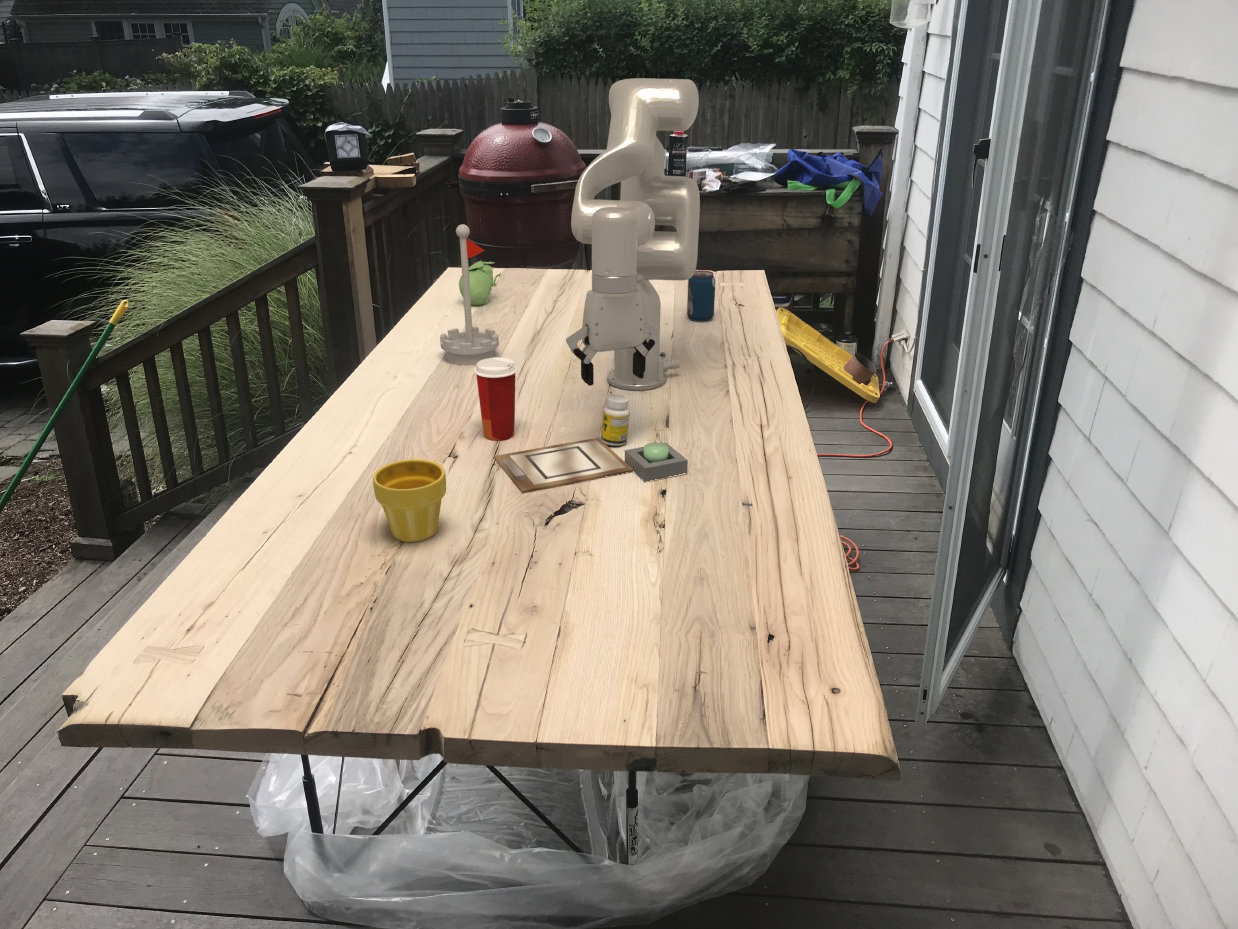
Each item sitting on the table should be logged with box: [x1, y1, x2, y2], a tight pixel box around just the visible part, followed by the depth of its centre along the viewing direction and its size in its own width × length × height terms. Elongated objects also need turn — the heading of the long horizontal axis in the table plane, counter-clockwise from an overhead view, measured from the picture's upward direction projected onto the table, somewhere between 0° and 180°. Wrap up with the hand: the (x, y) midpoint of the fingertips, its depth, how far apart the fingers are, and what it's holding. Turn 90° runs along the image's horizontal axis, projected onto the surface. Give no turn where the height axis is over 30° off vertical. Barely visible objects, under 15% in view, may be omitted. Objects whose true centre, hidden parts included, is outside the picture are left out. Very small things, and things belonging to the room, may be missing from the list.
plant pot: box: [372, 458, 447, 543], centre depth 141 cm, size 10×10×10 cm
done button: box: [643, 442, 668, 463], centre depth 162 cm, size 4×4×3 cm
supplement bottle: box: [600, 394, 630, 447], centre depth 171 cm, size 5×5×8 cm
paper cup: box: [473, 356, 518, 442], centre depth 173 cm, size 8×8×14 cm
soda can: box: [686, 269, 717, 323], centre depth 242 cm, size 7×7×12 cm
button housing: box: [624, 442, 689, 482], centre depth 162 cm, size 8×8×3 cm
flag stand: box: [439, 223, 500, 367], centre depth 210 cm, size 13×13×30 cm
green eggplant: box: [458, 260, 502, 306], centre depth 255 cm, size 12×11×11 cm
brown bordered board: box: [493, 437, 633, 494], centre depth 164 cm, size 20×15×1 cm
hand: (613, 379), depth 167 cm, fingers open, 9 cm apart
